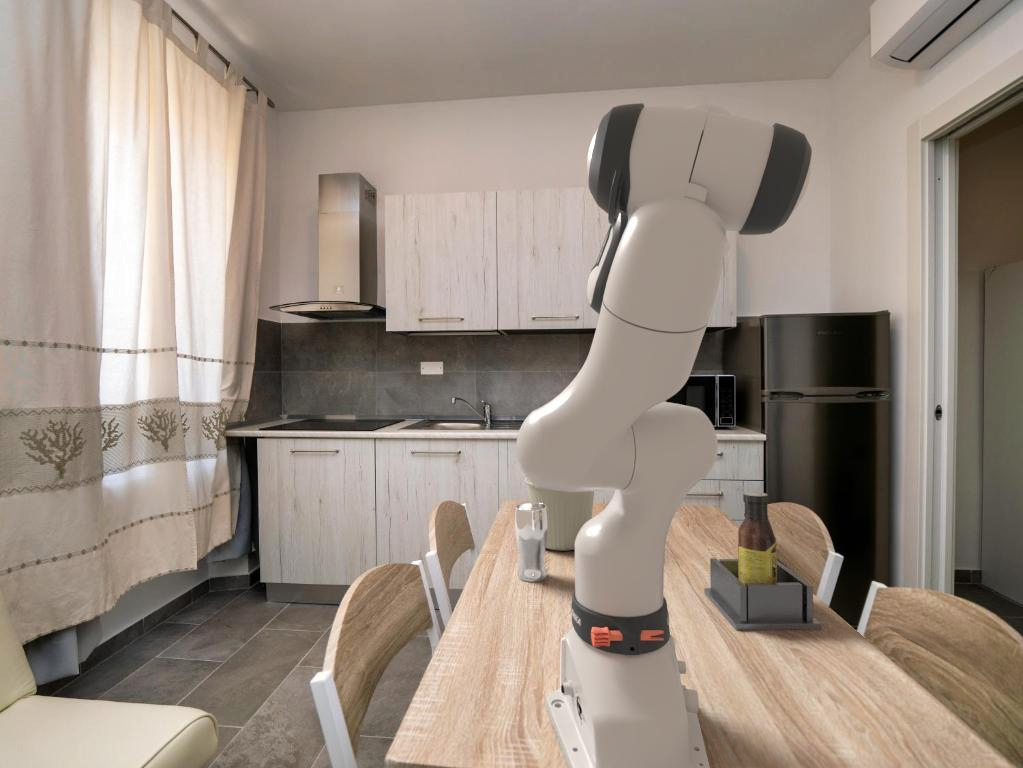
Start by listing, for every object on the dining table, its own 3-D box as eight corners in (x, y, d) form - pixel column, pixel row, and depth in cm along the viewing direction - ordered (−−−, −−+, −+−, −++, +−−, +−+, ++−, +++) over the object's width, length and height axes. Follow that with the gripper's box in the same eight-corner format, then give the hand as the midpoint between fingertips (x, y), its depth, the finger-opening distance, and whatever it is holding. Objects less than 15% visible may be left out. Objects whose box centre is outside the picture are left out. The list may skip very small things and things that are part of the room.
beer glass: (555, 575, 107) (554, 505, 106) (534, 586, 102) (533, 512, 101) (530, 567, 111) (529, 500, 111) (509, 577, 106) (507, 506, 106)
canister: (603, 557, 117) (602, 467, 117) (526, 557, 118) (524, 467, 117) (592, 532, 135) (591, 454, 135) (525, 533, 136) (524, 455, 135)
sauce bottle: (782, 614, 86) (781, 499, 86) (743, 611, 87) (742, 497, 87) (770, 597, 93) (770, 490, 92) (734, 595, 94) (733, 489, 94)
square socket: (821, 629, 83) (820, 587, 83) (735, 630, 83) (735, 588, 83) (777, 592, 97) (777, 556, 97) (704, 593, 97) (704, 557, 97)
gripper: (686, 330, 89) (686, 407, 90) (656, 337, 110) (656, 400, 110) (650, 330, 89) (650, 408, 90) (627, 338, 110) (627, 401, 110)
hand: (653, 404), depth 100 cm, fingers open, 8 cm apart
